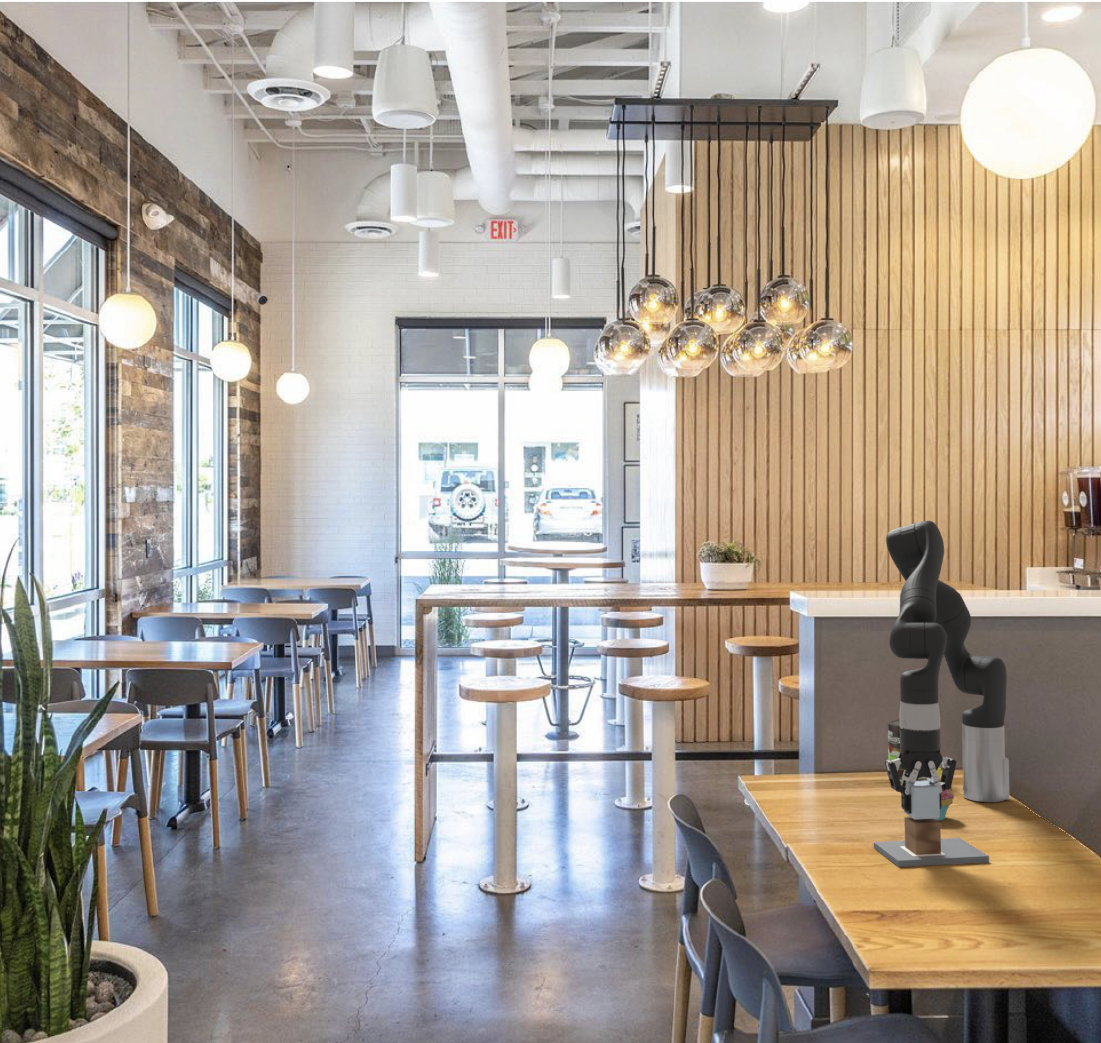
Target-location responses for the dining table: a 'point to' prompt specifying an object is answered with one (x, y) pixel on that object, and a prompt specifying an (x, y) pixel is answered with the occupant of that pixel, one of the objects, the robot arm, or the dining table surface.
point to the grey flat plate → (950, 854)
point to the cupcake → (944, 800)
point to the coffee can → (896, 746)
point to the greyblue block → (924, 801)
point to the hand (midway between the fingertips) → (921, 811)
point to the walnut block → (922, 836)
